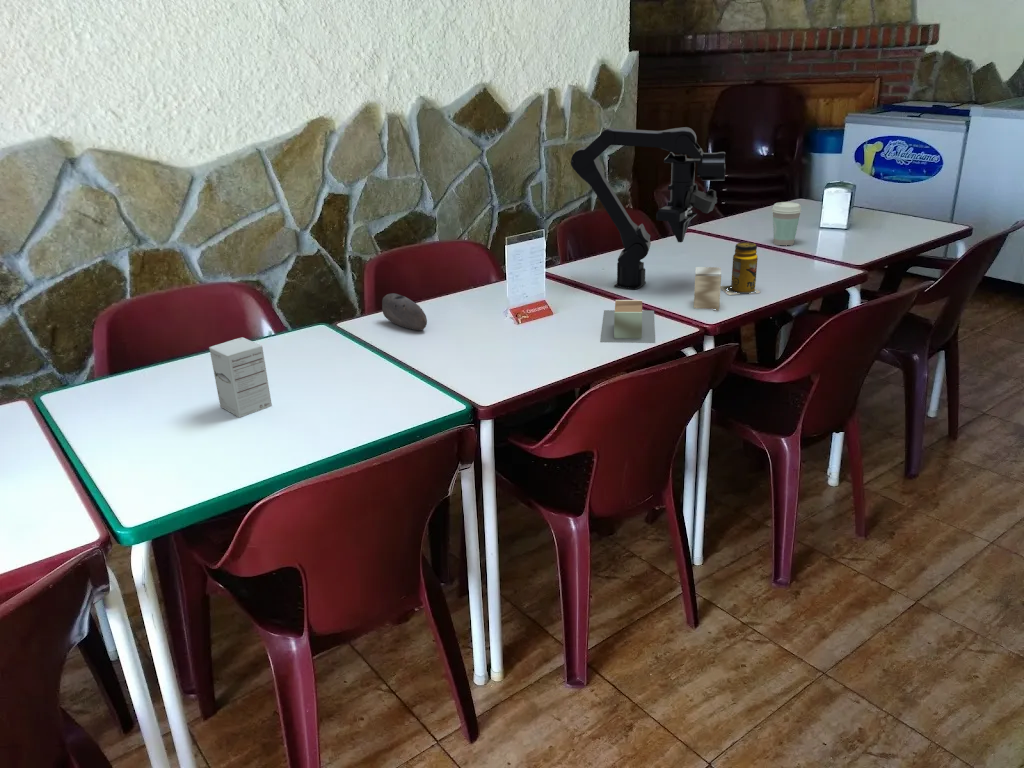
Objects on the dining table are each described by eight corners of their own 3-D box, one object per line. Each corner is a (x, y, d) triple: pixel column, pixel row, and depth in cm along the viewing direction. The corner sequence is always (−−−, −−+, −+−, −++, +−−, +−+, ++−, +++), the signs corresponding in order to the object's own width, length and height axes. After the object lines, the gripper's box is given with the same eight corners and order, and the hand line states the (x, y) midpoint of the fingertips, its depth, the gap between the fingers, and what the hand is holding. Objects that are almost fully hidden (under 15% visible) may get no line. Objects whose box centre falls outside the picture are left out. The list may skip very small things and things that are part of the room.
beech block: (693, 309, 206) (695, 273, 203) (693, 302, 212) (695, 266, 208) (719, 310, 205) (721, 274, 201) (718, 302, 210) (720, 267, 207)
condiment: (760, 293, 216) (764, 246, 211) (728, 295, 215) (731, 249, 211) (749, 285, 223) (753, 239, 218) (718, 287, 222) (721, 242, 217)
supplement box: (219, 407, 163) (207, 346, 158) (254, 395, 168) (243, 335, 163) (238, 418, 159) (226, 355, 154) (273, 406, 163) (263, 344, 158)
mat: (604, 311, 207) (604, 310, 207) (653, 312, 205) (654, 310, 205) (600, 343, 187) (600, 342, 187) (655, 344, 186) (655, 342, 185)
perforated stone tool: (435, 331, 199) (432, 302, 196) (416, 337, 196) (413, 308, 193) (399, 317, 210) (397, 290, 207) (381, 322, 207) (378, 294, 204)
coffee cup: (779, 239, 265) (783, 200, 261) (804, 243, 259) (807, 204, 255) (763, 244, 260) (766, 204, 256) (787, 248, 254) (791, 208, 250)
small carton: (615, 299, 195) (614, 312, 187) (642, 300, 194) (642, 312, 186) (615, 324, 197) (614, 338, 189) (641, 325, 196) (641, 338, 188)
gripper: (699, 189, 201) (697, 253, 207) (726, 176, 216) (723, 236, 222) (656, 186, 207) (654, 249, 213) (685, 173, 221) (682, 233, 227)
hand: (680, 242), depth 219 cm, fingers closed
